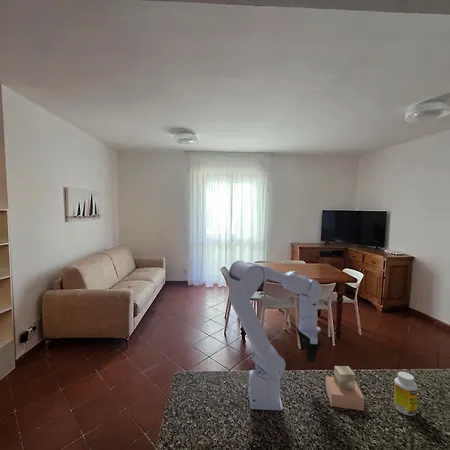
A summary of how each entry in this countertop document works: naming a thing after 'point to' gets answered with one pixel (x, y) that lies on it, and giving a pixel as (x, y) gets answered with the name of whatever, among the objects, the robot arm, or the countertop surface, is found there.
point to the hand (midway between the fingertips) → (307, 355)
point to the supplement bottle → (405, 394)
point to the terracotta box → (344, 396)
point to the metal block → (344, 378)
